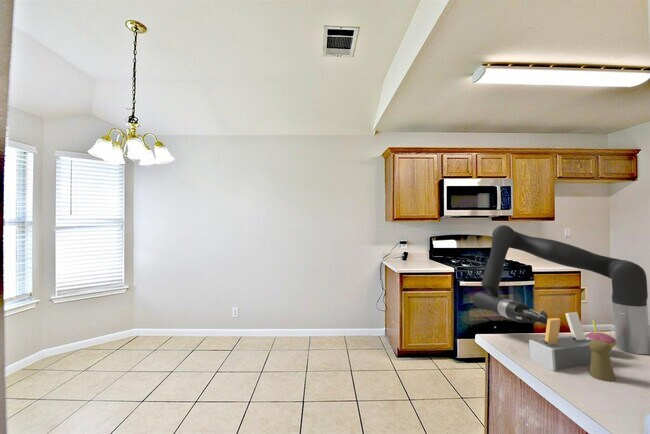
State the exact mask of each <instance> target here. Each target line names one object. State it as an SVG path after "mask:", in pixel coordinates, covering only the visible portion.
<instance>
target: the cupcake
mask: <svg viewBox="0 0 650 434" xmlns="http://www.w3.org/2000/svg"><path fill="white" fill-rule="evenodd" d="M592 326H593V330H594V331H592V332H588V333H587V334H585V336H586V337H587V338H590V339H593V340H600V341H604V342H606V343H608V344H609V345H610V347H611V352H612V350H613V348H615V347H616V345H617V343H616V338H615V337H612V336H611V335H610V334H607V333H603V332H598V329H597V326H596V321H595V320H594V318H592ZM611 352H610V353H609V356H610V355H611Z"/></svg>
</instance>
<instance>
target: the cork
mask: <svg viewBox="0 0 650 434" xmlns="http://www.w3.org/2000/svg"><path fill="white" fill-rule="evenodd" d="M589 348H590V349H591V362H590V365H589V376H590V377H592V378H594V379H596V380H599V381H602V382H608V381H609V383H610V382H611V381H613V382H615V381H616V377H615V376H616V375H615V372H614V367H613V364H612V361H611V357H610V355H609V353H610V352H612V350H611V347H610V345H609V344H608V343H606V342H604V341H600V340H591V341H590V342H589ZM610 354H611V353H610ZM611 383H612V382H611Z"/></svg>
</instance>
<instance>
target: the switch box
mask: <svg viewBox="0 0 650 434" xmlns="http://www.w3.org/2000/svg"><path fill="white" fill-rule="evenodd" d="M591 340H593V339H590V338H587V337H586V339H583V340H573V338H572V336H566V337H558V343H556V344H545V343H544V341H545V339H543V340H534V339H528V345H529V359H530V361H532V362H534V363H536V364H538V365H540V366H542V367H544V368H545V369H548V370H550V371H552V372H556V371H559V370H566V369H572V368H579V367H587V366H590V362H591V349H590V348H589V342H590V341H591Z"/></svg>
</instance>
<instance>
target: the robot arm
mask: <svg viewBox="0 0 650 434" xmlns="http://www.w3.org/2000/svg"><path fill="white" fill-rule="evenodd" d="M491 237H492V239H491V248H490V252H489V258H488V261H487V263H486V267H485V270H484V273H483V275H482V280H481V286H482V287H483V288H485V289H486V290H487V292H482V291H477V292H476V293H474V294H473V295H472V302H473V305H474V306H476V307H477V308H480V309H483V310H487V311H490V312H492V313H494V314H497V315H500V316H502V317H505V318H506V319H509V320H512V321H514V322H516V323H521V324H522V323H528V324H529V323H530V324H536V323H537V324H539V325H540V324H542V325H545V326H547V319H550V318H549V317H548V314H547V312H546V311H544V310H541V311H540V312H538V311H536V310H534V309H531V308H529V306H528V305H527V304H525V303H523V302H519V301H515V300H511V299H506V298H503V297H499V296H500V295H499V293H500V292H499V291H500V290H499V288H500V287H499V286H500V283H501V280H502V277H503V271H504V266H505V261H506V257H507V254H508V251H509V249H513V250H516V251H517V250H518V251H522V252H524V253H525V252H526V253H528V254H530V255H532V256H534V257H538V258H540V259H542V260H545V261H548V262H551V263H554V264H557V265H559V266H564V267H568V268H573V269H577V270H578V269H579V270H584V271H589V272H593V273H595V274H598V275H601V276H603V277H607V278H608V279H611V289H612V293H611V303H612V312H613V313H612V315H613V324H614V335H615V337H614V339H615V340H616V343H617V345H616V346H615V347H616V348H617V349H619V350H621V351H624V352H626V353H627V352H628V353H631V354H638V355H650V322H649V313H648V312H649V311H648V302H647V301H648V297H649V295H648V294H649V293H648V280H647V274H646V271H645V270H644V268H643V267H641V266H640V265H639V264H637V263H635V262H633V261H630V260H626V259H619V258H614V257H609V256H605V255H601V254H597V253H595V252H591V251H589V250H586V249H584V248H581V247H578V246H574V245H573V244H569V243H565V242H562V241H558V240H554V239H549V238H543V237H542V238H541V237H534V236H530V235H527V234H524V233H521V232H518V231H515V230H514V229H513V228H512V227H510V226H509V225H505V224H504V225H503V224H502V225H498V226H496V227H495V228H494V229H493V231H492V234H491Z"/></svg>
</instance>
